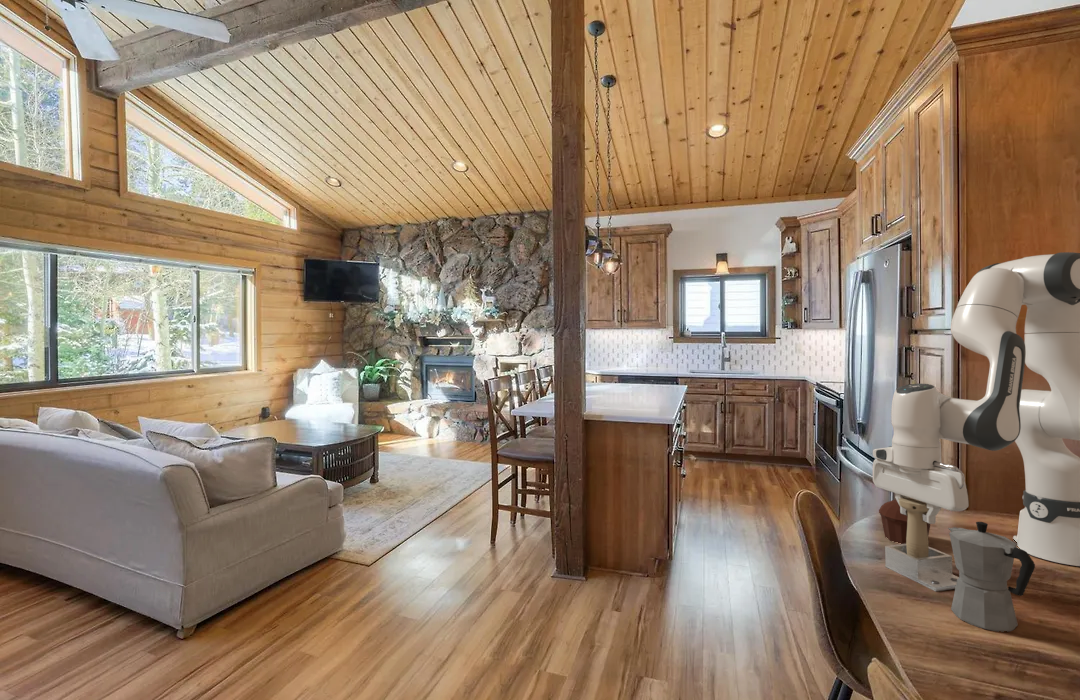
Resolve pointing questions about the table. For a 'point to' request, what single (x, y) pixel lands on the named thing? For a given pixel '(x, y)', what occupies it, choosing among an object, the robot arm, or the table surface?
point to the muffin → (895, 522)
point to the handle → (916, 527)
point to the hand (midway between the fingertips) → (917, 518)
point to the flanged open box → (922, 567)
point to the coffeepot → (987, 577)
